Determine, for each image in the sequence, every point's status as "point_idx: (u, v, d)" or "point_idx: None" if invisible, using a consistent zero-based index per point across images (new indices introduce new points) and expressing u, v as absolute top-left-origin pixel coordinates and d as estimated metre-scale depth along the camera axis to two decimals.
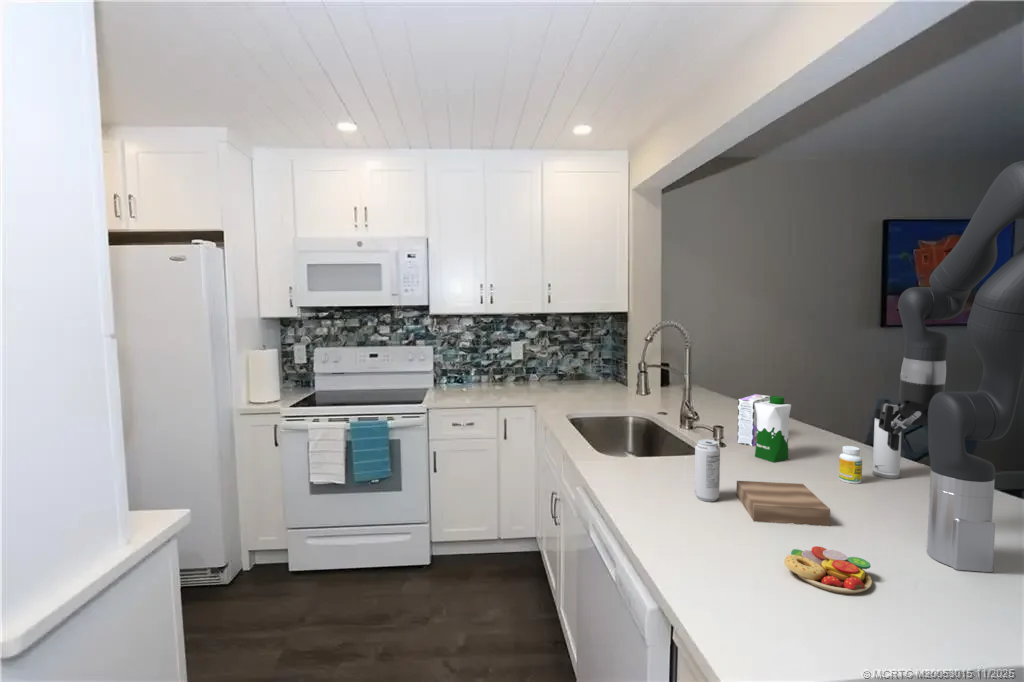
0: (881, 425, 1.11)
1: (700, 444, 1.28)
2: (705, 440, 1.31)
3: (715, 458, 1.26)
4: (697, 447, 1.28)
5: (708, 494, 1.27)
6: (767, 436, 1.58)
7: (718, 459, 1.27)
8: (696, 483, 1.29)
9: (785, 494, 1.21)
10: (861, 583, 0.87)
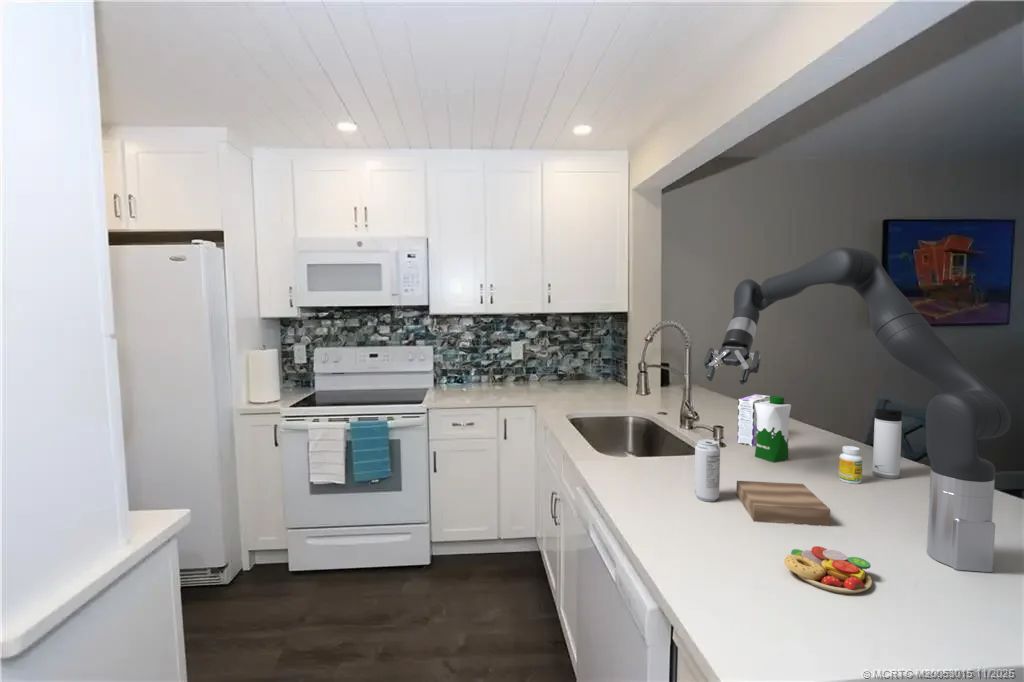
0: None
1: (700, 444, 1.28)
2: (705, 440, 1.31)
3: (715, 458, 1.26)
4: (697, 447, 1.28)
5: (708, 494, 1.27)
6: (767, 436, 1.58)
7: (718, 459, 1.27)
8: (696, 483, 1.29)
9: (785, 494, 1.21)
10: (861, 583, 0.87)
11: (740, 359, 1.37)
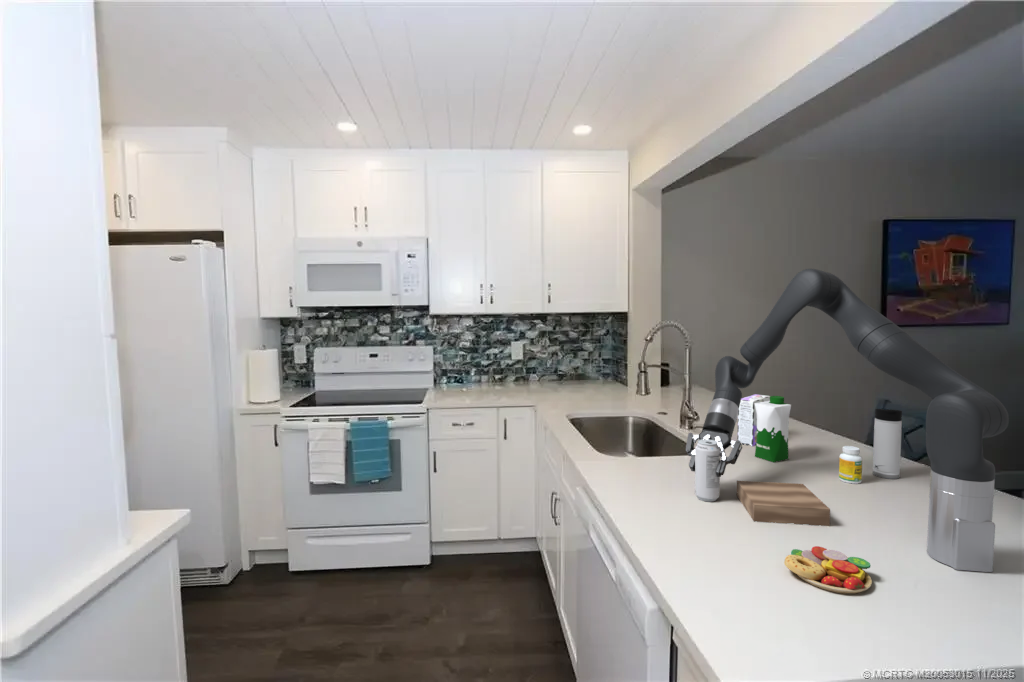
0: None
1: (700, 444, 1.28)
2: (705, 439, 1.31)
3: (716, 458, 1.26)
4: (697, 447, 1.28)
5: (709, 494, 1.27)
6: (767, 436, 1.58)
7: (718, 459, 1.27)
8: (696, 483, 1.29)
9: (785, 494, 1.21)
10: (861, 583, 0.87)
11: None
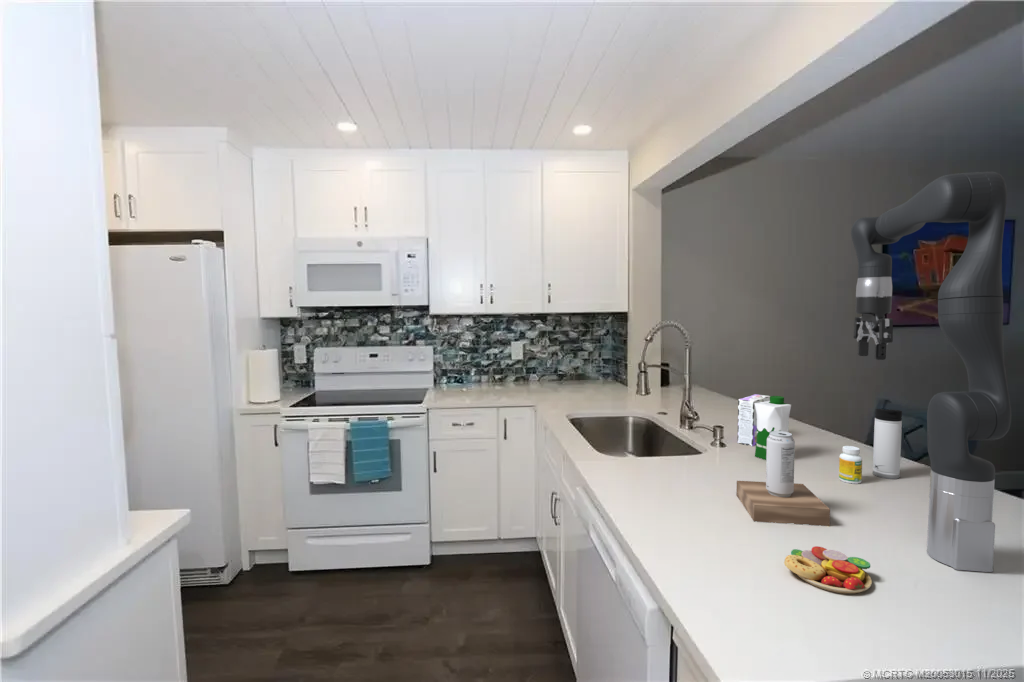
0: None
1: (773, 436, 1.20)
2: (776, 431, 1.23)
3: (791, 450, 1.18)
4: (769, 439, 1.20)
5: (783, 489, 1.19)
6: (767, 436, 1.58)
7: (793, 452, 1.19)
8: (769, 477, 1.21)
9: None
10: (861, 583, 0.87)
11: (870, 333, 1.26)
